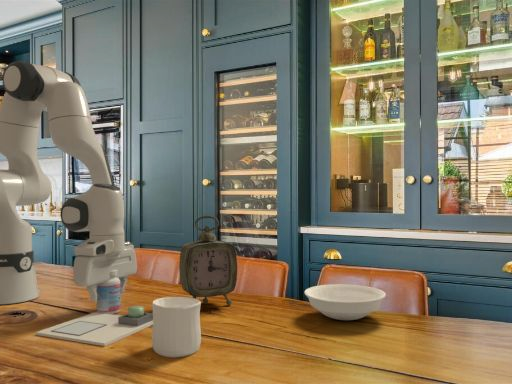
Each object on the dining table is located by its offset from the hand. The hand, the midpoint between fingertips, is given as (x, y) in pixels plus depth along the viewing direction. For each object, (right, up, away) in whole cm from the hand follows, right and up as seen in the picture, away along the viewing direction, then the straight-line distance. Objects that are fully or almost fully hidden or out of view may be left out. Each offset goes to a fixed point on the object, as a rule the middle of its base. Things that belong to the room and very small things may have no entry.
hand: (108, 296), depth 121 cm
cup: (+23, -4, -29) cm, 37 cm away
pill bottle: (0, -4, 0) cm, 4 cm away
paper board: (+2, -4, -14) cm, 15 cm away
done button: (+10, -2, -11) cm, 15 cm away
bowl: (+61, -4, -8) cm, 62 cm away
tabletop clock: (+26, -4, +6) cm, 27 cm away
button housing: (+10, -4, -11) cm, 16 cm away
